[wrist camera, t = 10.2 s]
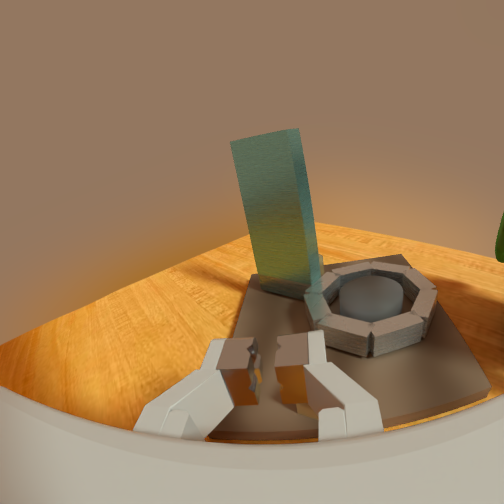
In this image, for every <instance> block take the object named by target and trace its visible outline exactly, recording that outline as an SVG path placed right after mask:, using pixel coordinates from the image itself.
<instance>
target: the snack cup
mask: <svg viewBox="0 0 504 504" xmlns="http://www.w3.org/2000/svg"><path fill="white" fill-rule="evenodd" d="M495 254H496V259H497V260H498V261H499V262H501V263H504V213H503V216H502V219H501V223H500V227H499V230H498V235H497V239H496V246H495Z"/></svg>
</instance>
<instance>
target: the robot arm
mask: <svg viewBox="0 0 504 504" xmlns="http://www.w3.org/2000/svg"><path fill="white" fill-rule="evenodd" d="M277 346H278V350H277V351H276V356H275V366H274V367H275V372H276V377H277V382H278V383H280V395H281V399H282V403H283V404H297V403H308V404H309V406H310V407H311V408H312V409H313V411H314V412H315V413H316V415H317V416H318V417H319V442H310V443H295V444H228V443H213V442H206V441H205V439H204V438H205V437H206V436H207V435H208V434H209V433H210V432H211V431H212V430H213V429H214V428H215V427H216V426H217V425H218V424H219V423H220V422H221V421H222V420H223V419H224V418H225V416H226V415H227V414H228V413H229V412H230V411H231V410H232V409H233V408H234V406H248V405H259V399H260V393H261V390H260V386H259V384H260V383H261V382H262V379H263V363H262V358H261V355H259V354H258V347H259V346H258V342H257V339H256V338H255V337H246V338H227V339H226V338H224V339H213V340H212V341H211V342H210V345H209V347H208V350H207V352H206V355H205V357H204V360H203V362H202V365H201V367H200V370H195V371H193V372H192V373H191V374H189V375H188V376H186V377H185V378H184V379H182V380H181V381H179V382H178V383H177V384H175V385H174V386H172V387H171V388H170V389H168V390H167V391H165V392H164V393H162V394H161V395H160V396H158V397H157V398H155V399H154V400H152V401H151V402H149V403H148V404H146V405H145V407H144V409H143V411H142V413H141V415H140V417H139V419H138V421H137V423H136V425H135V427H134V429H133V431H130V430H126V429H121V428H117V427H113V426H109V425H105V424H101V423H98V422H94V421H91V420H87V419H84V418H81V417H78V416H74V415H71V414H68V413H65V412H62V411H60V410H57V409H54V408H51V407H49V406H46V405H44V404H41V403H38V402H36V401H34V400H31V399H29V398H26V397H24V396H22V395H20V394H17V393H15V392H13V391H11V390H9V389H7V388H5V387H2V386H0V504H504V394H501V395H499V396H497V397H495V398H492V399H490V400H488V401H485V402H483V403H480V404H478V405H475V406H473V407H470V408H468V409H465V410H462V411H459V412H456V413H454V414H451V415H448V416H445V417H441V418H438V419H435V420H431V421H428V422H424V423H421V424H417V425H413V426H409V427H405V428H401V429H397V430H392V431H388V432H384V429H383V424H382V419H381V414H380V409H379V405H378V400H377V399H376V398H374V397H373V396H372V395H371V394H369V393H368V392H367V391H366V390H364V389H363V388H362V387H361V386H360V385H358V384H357V383H356V382H355V381H354V380H352V379H351V378H350V377H349V376H347V375H346V374H345V373H344V372H343V371H341V370H340V369H339V368H338V367H337V366H335V365H334V364H333V363H332V362H327V360H326V350H325V341H324V332H323V330H316V331H309V332H305V333H296V334H287V335H278V337H277Z"/></svg>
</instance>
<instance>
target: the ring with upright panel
mask: <svg viewBox="0 0 504 504" xmlns="http://www.w3.org/2000/svg"><path fill="white" fill-rule="evenodd" d="M230 144H231V149H232V154H233V159H234V163H235V168H236V173H237V177H238V182H239V186H240V192H241V196H242V201H243V206H244V210H245V215H246V220H247V224H248V229H249V234H250V239H251V243H252V248H253V253H254V257H255V262H256V267H257V272H258V276H259V281H260V286H261V289H262V290H266V291H270V292H273V293H277V294H281V295H285V296H289V297H293V298H297V299H301V300H304V303H305V311H306V315H307V318H308V321H309V323H310V326H311V329H312V331H316V330H323V332H324V341H325V345H327V346H331V347H334V348H337V349H340V350H343V351H347V352H350V353H353V354H357V355H360V356H364V357H366V356H367V355H368V353H369V352H371V354H372V355H373V357H375V356H379V355H382V354H385V353H388V352H391V351H394V350H397V349H400V348H403V347H406V346H409V345H412V344H415V343H418V342H420V341H421V337H424V338H425V336H426V334H427V331H428V328H429V326H430V323H431V320H432V317H433V315H434V312H435V308H436V301H437V294H438V290H436V288H437V287H436V286H435V285H434V284H433V283H432V282H430V281H429V280H428V279H427V278H426V277H424V276H423V275H422V274H421V273H420V272H419V271H417V270H416V269H415V268H413V269H410V266H403V265H396V264H389V263H382V262H375V261H373V262H372V264H370V263H369V262H364V263H359V264H355V265H351V266H346V267H342V268H337V269H332V270H331V271H332V272H326V273H325V274H324V275H323V276H322V277H321V273H320V264H319V255H318V247H317V239H316V231H315V224H314V217H313V210H312V204H311V196H310V190H309V184H308V178H307V172H306V166H305V161H304V155H303V149H302V143H301V138H300V133H299V129H288V130H282V131H277V132H272V133H267V134H262V135H258V136H253V137H249V138H244V139H240V140H236V141H232V142H230ZM366 276H381V277H387V278H390V279H392V280H395V281H396V282H398V283H399V284H400V285H401V286H402V288H403V292H404V294H405V295H406V296H407V297H408V298H409V299H410V300H411V301H412V302H413V303H414V305H413V307H412V309H411V311H410V312H407V313H404V314H400V315H397V316H394V317H391V318H387V319H384V320H380V321H377V322H373V323H369V322H365V321H361V320H357V319H352V318H348V317H344V316H340V315H336V314H332V313H331V311H330V309H329V307H328V306H329V305H330V303H331V302H332V301H333V300H334V299H335V298H336V297H337V296H338V295H339V292H340V290H341V288H342V287H343V286H344V285H345V284H346V283H348V282H349V281H351V280H354V279H357V278H360V277H366Z"/></svg>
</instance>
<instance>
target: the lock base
mask: <svg viewBox="0 0 504 504" xmlns="http://www.w3.org/2000/svg"><path fill="white" fill-rule="evenodd" d="M318 255H319V264H320V273H321V277H322V276H323V275H324V274H325V273H326V272H332V271H331V270H332V269H337V268H342V267H346V266H351V265H355V264H359V263H364V262H369V263H370V264H372V262H373V261H375V262H382V263H389V264H396V265H403V266H410V264H409V263H408V262H407V261H406V259H405V258H404V257H403V256H402V254H398V255H391V256H385V257H378V258H371V259H364V260H357V261H350V262H343V263H336V264H329V265H323V256H322V255H320V254H318ZM410 269H413V268H412V267H411V266H410ZM413 305H414V303H413V302H412V301H411V300H410V299H409V298H408V297H407V296H406V295H405V294H404V292H403V288H402V286H401V285H400V284H399V283H398V282H396V281H395V280H392V279H390V278H387V277H381V276H366V277H360V278H357V279H354V280H351V281H349V282H348V283H346V284H345V285H344V286H343V287H342V288H341V290H340V292H339V295H338V296H337V297H336V298H335V299H334V300H333V301H332V302H331V303H330V305H329V306H328V307H329V309H330V311H331V313H332V314H336V315H340V316H344V317H348V318H352V319H357V320H361V321H365V322H369V323H373V322H377V321H380V320H384V319H387V318H391V317H394V316H397V315H400V314H404V313H407V312H410V311H411V309H412V307H413ZM309 331H312V329H311V326H310V323H309V321H308V318H307V315H306V311H305V303H304V300H301V299H297V298H293V297H289V296H285V295H281V294H277V293H273V292H270V291H266V290H262V289H261V286H260V281H259V276H258V274H252V275H251V278H250V281H249V285H248V288H247V291H246V295H245V298H244V301H243V305H242V308H241V311H240V315H239V318H238V321H237V325H236V328H235V331H234V335H233V338H246V337H255V338H256V339H257V342H258V346H259V347H258V354H259V355H261V358H262V363H263V379H262V382H261V383H260V384H259V386H260V390H261V393H260V399H259V405H248V406H234V408H233V409H232V410H231V411H230V412H229V413H228V414H227V415H226V416H225V418H224V419H223V420H222V421H221V422H220V423H219V424H218V425H217V426H216V427H215V428H214V429H213V430H212V431H211V432H210V433H209V434H208V436H209V438H212V439H228V440H292V439H308V438H319V417H318V416H317V415H316V413H315V412H314V411H313V409H312V408H311V407H310V406H309V404H308V403H297V404H283V403H282V399H281V395H280V383H278V382H277V377H276V372H275V367H274V366H275V356H276V351H277V350H278V346H277V337H278V335H287V334H296V333H305V332H309ZM325 350H326V360H327V362H332V363H333V364H334V365H335V366H337V367H338V368H339V369H340V370H341V371H343V372H344V373H345V374H346V375H347V376H349V377H350V378H351V379H352V380H354V381H355V382H356V383H357V384H358V385H360V386H361V387H362V388H363V389H364V390H366V391H367V392H368V393H369V394H371V395H372V396H373V397H374V398H376V399H377V400H378V405H379V409H380V414H381V419H382V424H383V428H387V427H392V426H396V425H401V424H405V423H409V422H413V421H417V420H420V419H424V418H428V417H431V416H435V415H438V414H441V413H444V412H447V411H451V410H453V409H456V408H459V407H462V406H465V405H468V404H470V403H473V402H476V401H478V400H481V399H483V398H486V397H487V395H488V393H489V391H490V389H491V387H492V386H491V384H490V383H489V381H488V379H487V377H486V375H485V374H484V372H483V370H482V368H481V367H480V365H479V363H478V362H477V360H476V358H475V357H474V355H473V353H472V352H471V350H470V349H469V347H468V345H467V344H466V342H465V341H464V339H463V338H462V336H461V334H460V333H459V331H458V330H457V328H456V327H455V325H454V324H453V322H452V321H451V319H450V318H449V317H448V315H447V314H446V312H445V311H444V309H443V308H442V307H441V305H440V304H439V302H438V301H436V308H435V312H434V315H433V317H432V320H431V323H430V326H429V328H428V331H427V334H426V336H425V338H424V337H421V341H420V342H418V343H415V344H412V345H409V346H406V347H403V348H400V349H397V350H394V351H391V352H388V353H385V354H382V355H379V356H375V357H373V355H372V354H371V352H369V353H368V355H367V356H366V357H364V356H360V355H357V354H353V353H350V352H347V351H343V350H340V349H337V348H334V347H331V346H327V345H325Z"/></svg>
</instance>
